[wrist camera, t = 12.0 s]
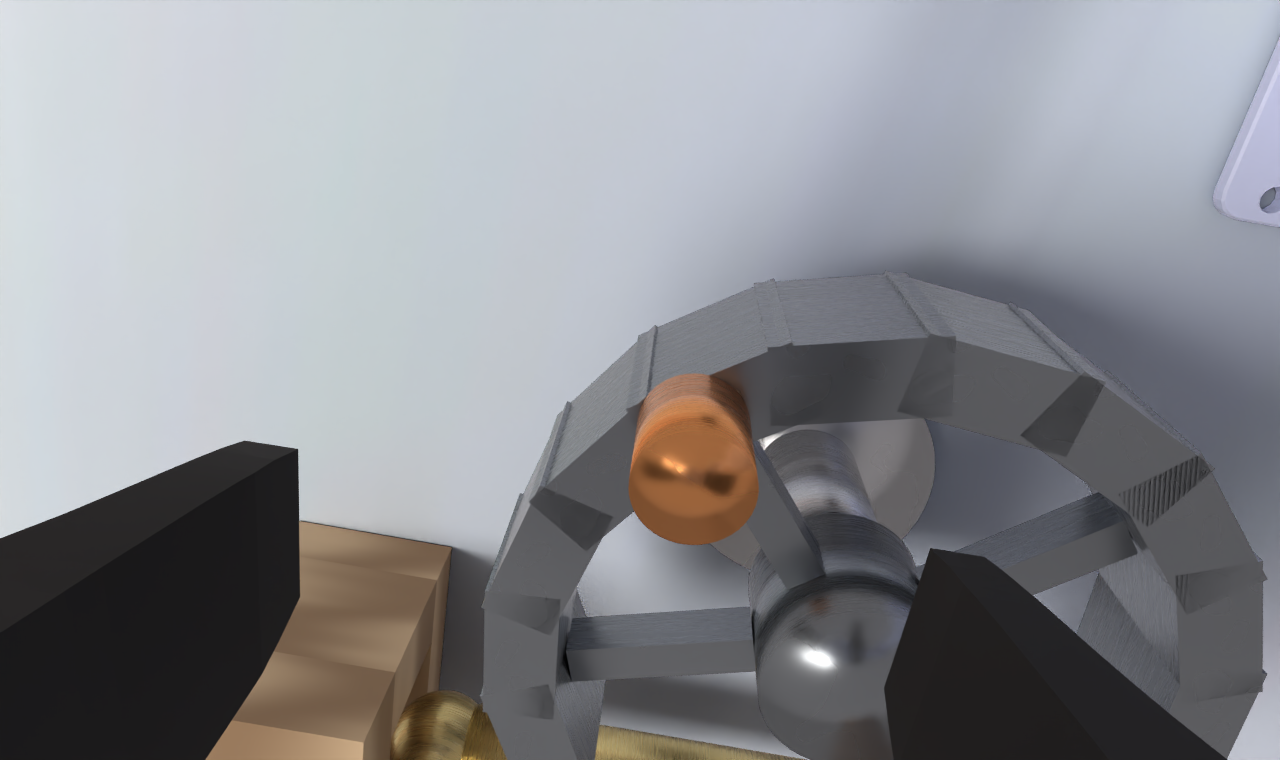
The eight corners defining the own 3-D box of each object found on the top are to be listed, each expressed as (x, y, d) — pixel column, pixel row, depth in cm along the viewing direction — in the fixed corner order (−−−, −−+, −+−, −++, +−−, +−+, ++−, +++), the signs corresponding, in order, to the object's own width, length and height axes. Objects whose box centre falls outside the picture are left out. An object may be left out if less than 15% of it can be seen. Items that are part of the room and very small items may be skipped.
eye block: (451, 547, 22) (363, 742, 16) (433, 746, 25) (352, 975, 19) (298, 521, 22) (154, 707, 16) (297, 723, 25) (173, 945, 19)
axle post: (965, 376, 20) (1034, 472, 16) (892, 590, 22) (935, 719, 18) (705, 331, 20) (708, 415, 16) (660, 550, 22) (652, 671, 18)
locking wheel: (1041, 804, 19) (1146, 1048, 14) (478, 664, 18) (409, 875, 14) (1307, 383, 15) (1568, 545, 10) (594, 186, 14) (548, 266, 10)
